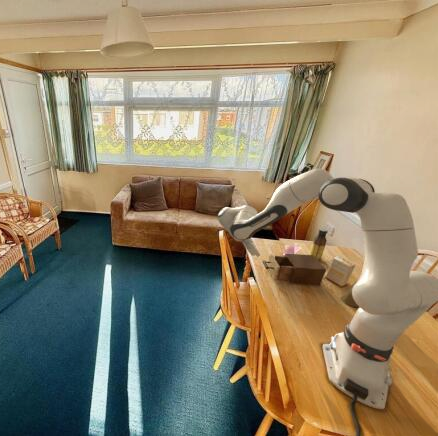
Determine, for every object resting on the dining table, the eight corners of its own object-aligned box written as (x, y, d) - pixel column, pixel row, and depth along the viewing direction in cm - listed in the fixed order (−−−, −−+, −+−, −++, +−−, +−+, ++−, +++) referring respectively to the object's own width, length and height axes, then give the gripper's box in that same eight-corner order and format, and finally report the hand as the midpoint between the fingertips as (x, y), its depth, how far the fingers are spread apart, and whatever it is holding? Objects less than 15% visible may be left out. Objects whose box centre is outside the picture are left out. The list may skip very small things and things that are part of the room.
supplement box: (346, 284, 120) (356, 264, 114) (341, 287, 118) (350, 266, 112) (330, 275, 127) (339, 255, 121) (324, 277, 125) (333, 257, 119)
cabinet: (289, 283, 121) (295, 267, 116) (280, 268, 132) (285, 253, 127) (319, 285, 119) (326, 269, 114) (307, 270, 130) (313, 255, 126)
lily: (284, 251, 149) (280, 241, 145) (305, 251, 141) (302, 240, 137) (282, 265, 142) (278, 255, 138) (305, 266, 134) (301, 254, 130)
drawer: (265, 279, 122) (268, 266, 118) (258, 266, 132) (261, 253, 129) (300, 282, 120) (305, 268, 116) (291, 268, 130) (295, 256, 127)
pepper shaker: (362, 307, 105) (372, 289, 101) (347, 305, 107) (356, 287, 102) (354, 298, 111) (363, 280, 106) (340, 296, 112) (348, 278, 107)
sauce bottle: (320, 256, 142) (331, 229, 133) (320, 262, 137) (332, 233, 129) (307, 253, 145) (317, 226, 137) (307, 258, 140) (318, 230, 132)
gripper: (251, 239, 108) (267, 258, 111) (240, 221, 126) (255, 237, 129) (239, 246, 110) (256, 265, 113) (231, 227, 129) (245, 243, 132)
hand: (255, 250), depth 122 cm, fingers open, 8 cm apart
